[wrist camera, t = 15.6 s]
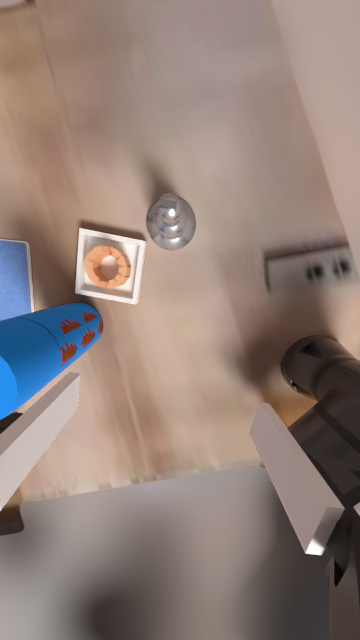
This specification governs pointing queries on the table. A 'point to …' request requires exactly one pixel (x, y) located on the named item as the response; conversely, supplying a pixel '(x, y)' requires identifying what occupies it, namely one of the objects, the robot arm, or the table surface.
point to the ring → (95, 264)
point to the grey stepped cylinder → (171, 222)
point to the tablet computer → (15, 279)
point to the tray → (111, 266)
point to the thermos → (42, 349)
